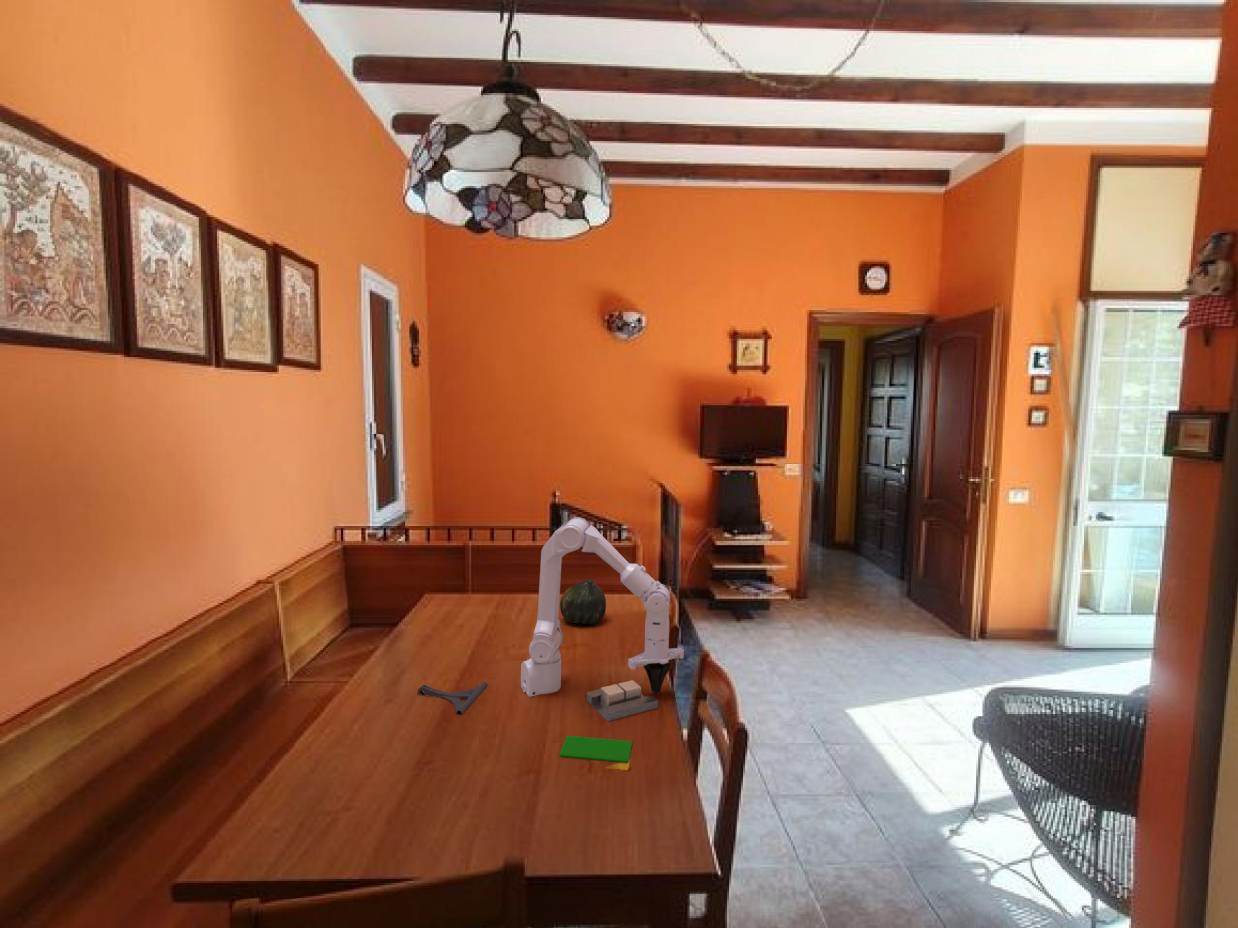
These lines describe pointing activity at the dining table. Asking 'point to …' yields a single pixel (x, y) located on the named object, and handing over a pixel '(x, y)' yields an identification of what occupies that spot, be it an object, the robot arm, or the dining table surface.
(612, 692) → the block
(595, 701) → the slot plate
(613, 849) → the dining table surface
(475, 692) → the bracket
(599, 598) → the squash
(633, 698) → the block
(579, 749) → the dish sponge
